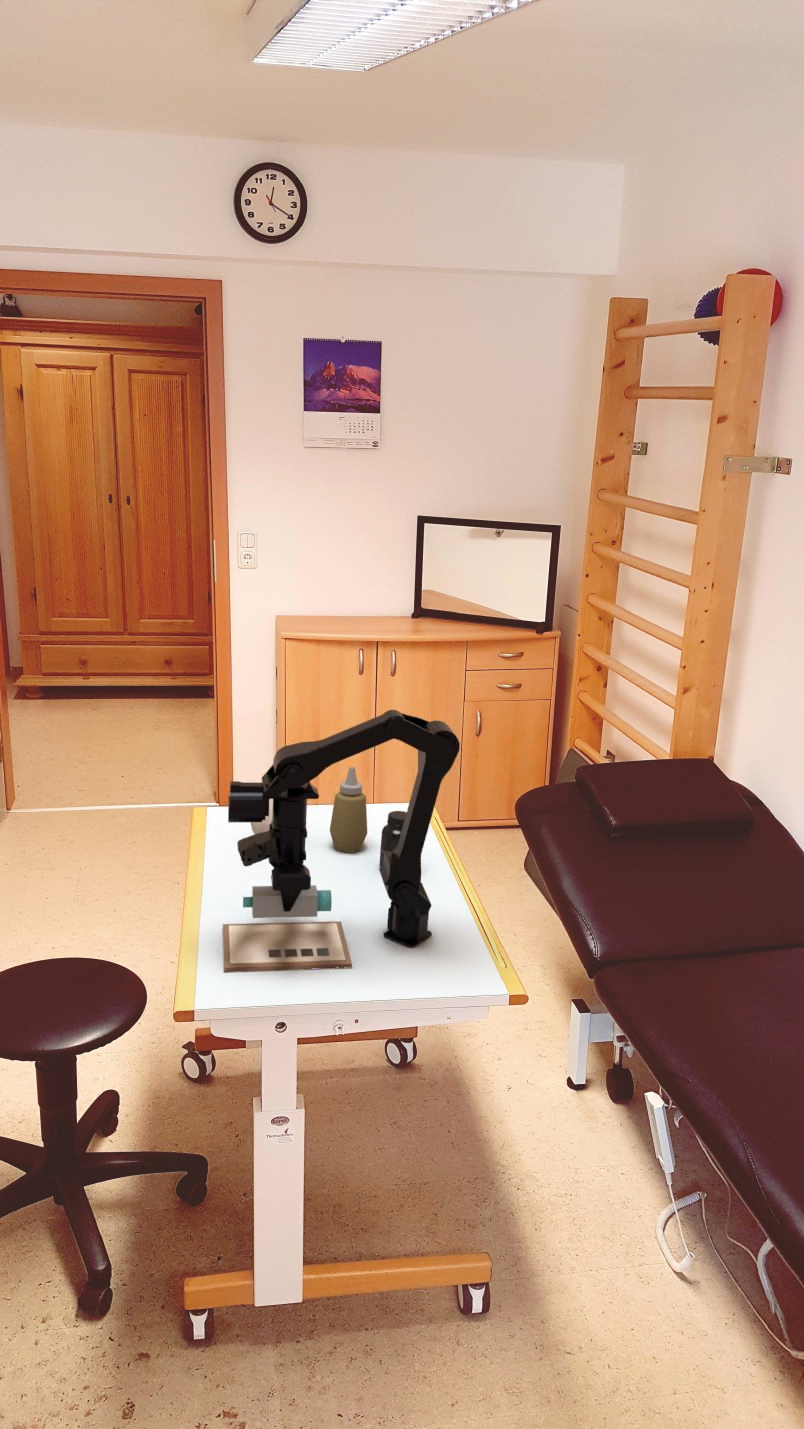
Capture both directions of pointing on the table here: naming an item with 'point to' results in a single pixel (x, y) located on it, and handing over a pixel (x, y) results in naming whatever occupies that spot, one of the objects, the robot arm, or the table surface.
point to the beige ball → (263, 821)
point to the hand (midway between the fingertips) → (286, 905)
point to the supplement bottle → (391, 832)
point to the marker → (271, 905)
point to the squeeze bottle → (349, 815)
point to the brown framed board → (284, 946)
